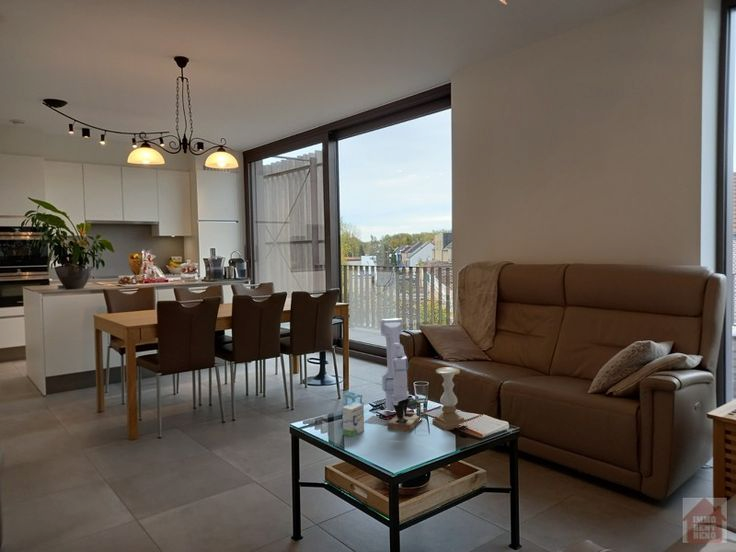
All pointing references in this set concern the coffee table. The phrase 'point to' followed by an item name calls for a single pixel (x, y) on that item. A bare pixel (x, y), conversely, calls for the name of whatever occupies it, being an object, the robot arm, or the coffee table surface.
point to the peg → (402, 419)
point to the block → (409, 424)
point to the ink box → (353, 419)
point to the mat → (376, 420)
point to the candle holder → (448, 401)
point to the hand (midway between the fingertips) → (401, 417)
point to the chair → (352, 396)
